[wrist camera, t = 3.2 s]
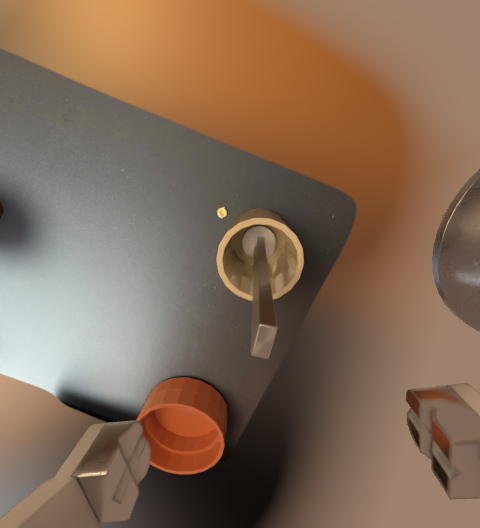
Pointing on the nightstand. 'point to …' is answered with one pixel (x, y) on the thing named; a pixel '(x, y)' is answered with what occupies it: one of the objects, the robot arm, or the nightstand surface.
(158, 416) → the bowl
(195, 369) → the nightstand surface
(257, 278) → the metal stirring rod
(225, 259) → the crock
